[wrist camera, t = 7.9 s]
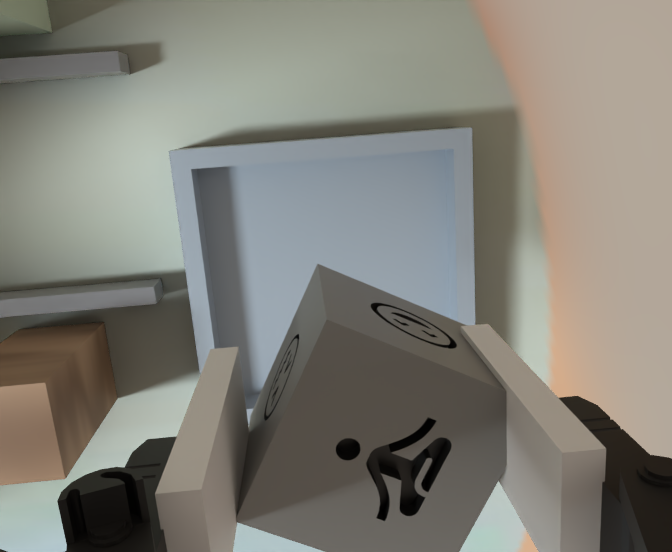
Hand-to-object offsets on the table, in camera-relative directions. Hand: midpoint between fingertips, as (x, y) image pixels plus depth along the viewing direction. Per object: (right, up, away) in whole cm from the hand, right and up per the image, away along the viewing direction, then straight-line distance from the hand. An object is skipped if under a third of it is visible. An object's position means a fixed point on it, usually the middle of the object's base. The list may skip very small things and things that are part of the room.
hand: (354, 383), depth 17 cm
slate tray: (-1, +3, +12) cm, 13 cm away
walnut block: (-13, -1, +13) cm, 19 cm away
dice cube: (0, 0, +2) cm, 2 cm away
